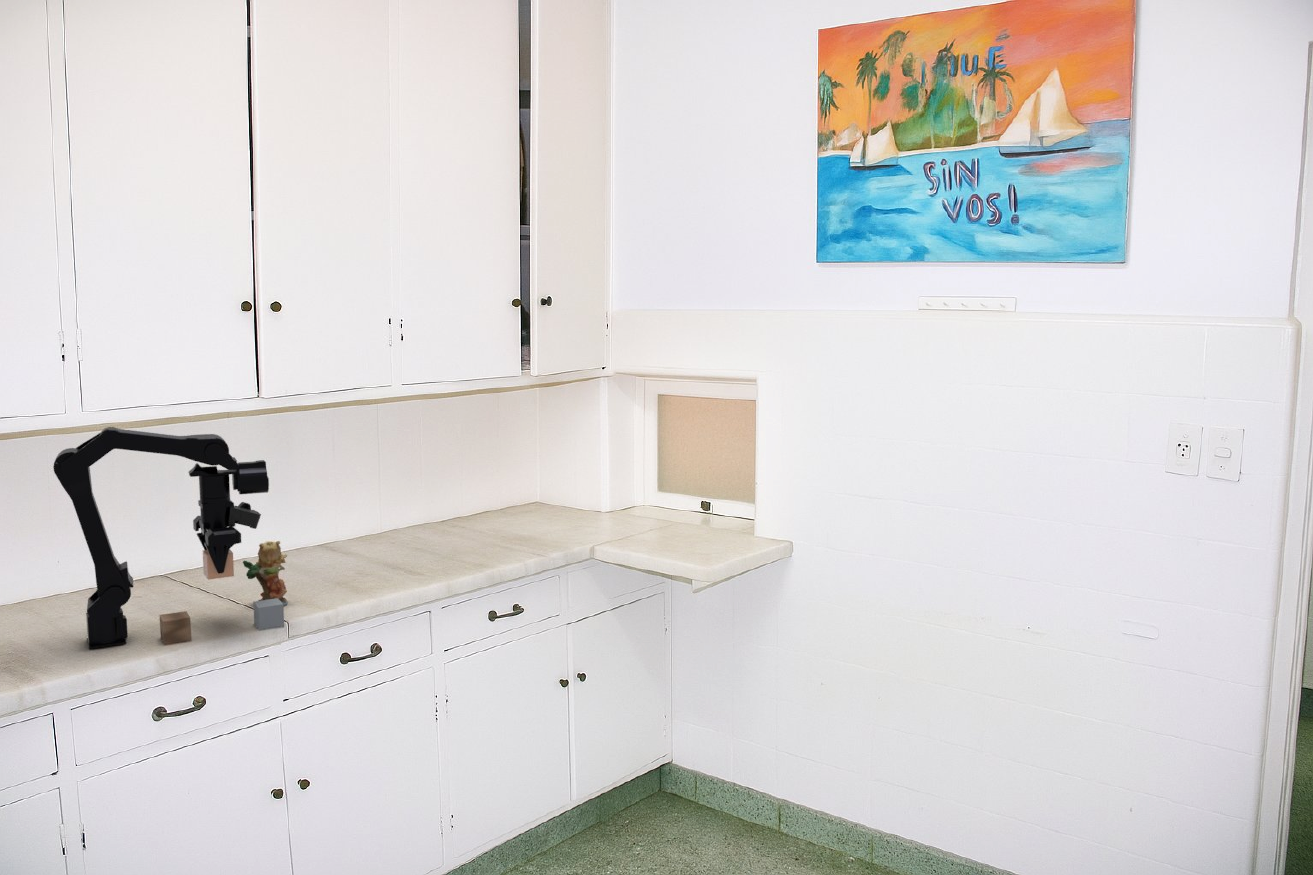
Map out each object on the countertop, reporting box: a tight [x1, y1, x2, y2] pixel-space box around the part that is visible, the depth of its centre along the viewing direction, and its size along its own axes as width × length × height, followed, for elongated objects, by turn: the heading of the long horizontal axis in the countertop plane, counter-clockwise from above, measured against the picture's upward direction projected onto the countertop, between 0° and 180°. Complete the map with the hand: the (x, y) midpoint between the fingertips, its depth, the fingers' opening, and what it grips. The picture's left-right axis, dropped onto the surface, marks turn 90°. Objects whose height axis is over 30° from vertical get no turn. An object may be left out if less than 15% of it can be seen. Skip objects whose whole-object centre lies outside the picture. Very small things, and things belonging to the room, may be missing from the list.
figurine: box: [242, 540, 288, 607], centre depth 229 cm, size 9×8×15 cm
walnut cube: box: [158, 610, 192, 646], centre depth 206 cm, size 5×5×5 cm
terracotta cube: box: [202, 548, 235, 580], centre depth 211 cm, size 5×5×5 cm
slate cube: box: [252, 598, 285, 631], centre depth 215 cm, size 5×5×5 cm
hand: (218, 570), depth 212 cm, fingers closed on terracotta cube, 5 cm apart
